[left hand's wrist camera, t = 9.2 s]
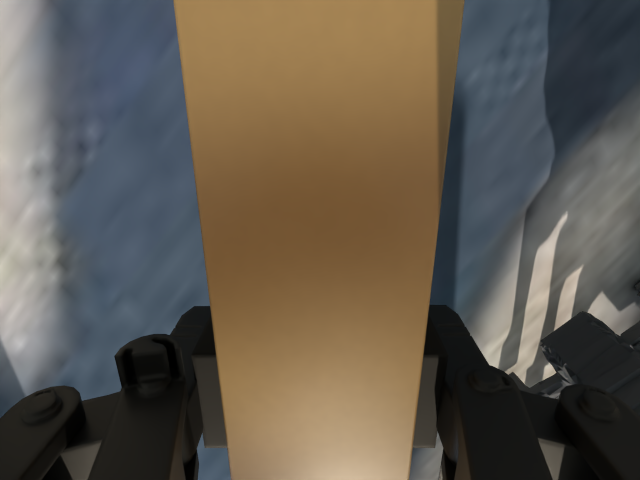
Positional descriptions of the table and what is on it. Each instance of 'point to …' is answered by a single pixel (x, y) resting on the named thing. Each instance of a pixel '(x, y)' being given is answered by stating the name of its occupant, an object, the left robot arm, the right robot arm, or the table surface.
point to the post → (319, 220)
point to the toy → (592, 359)
